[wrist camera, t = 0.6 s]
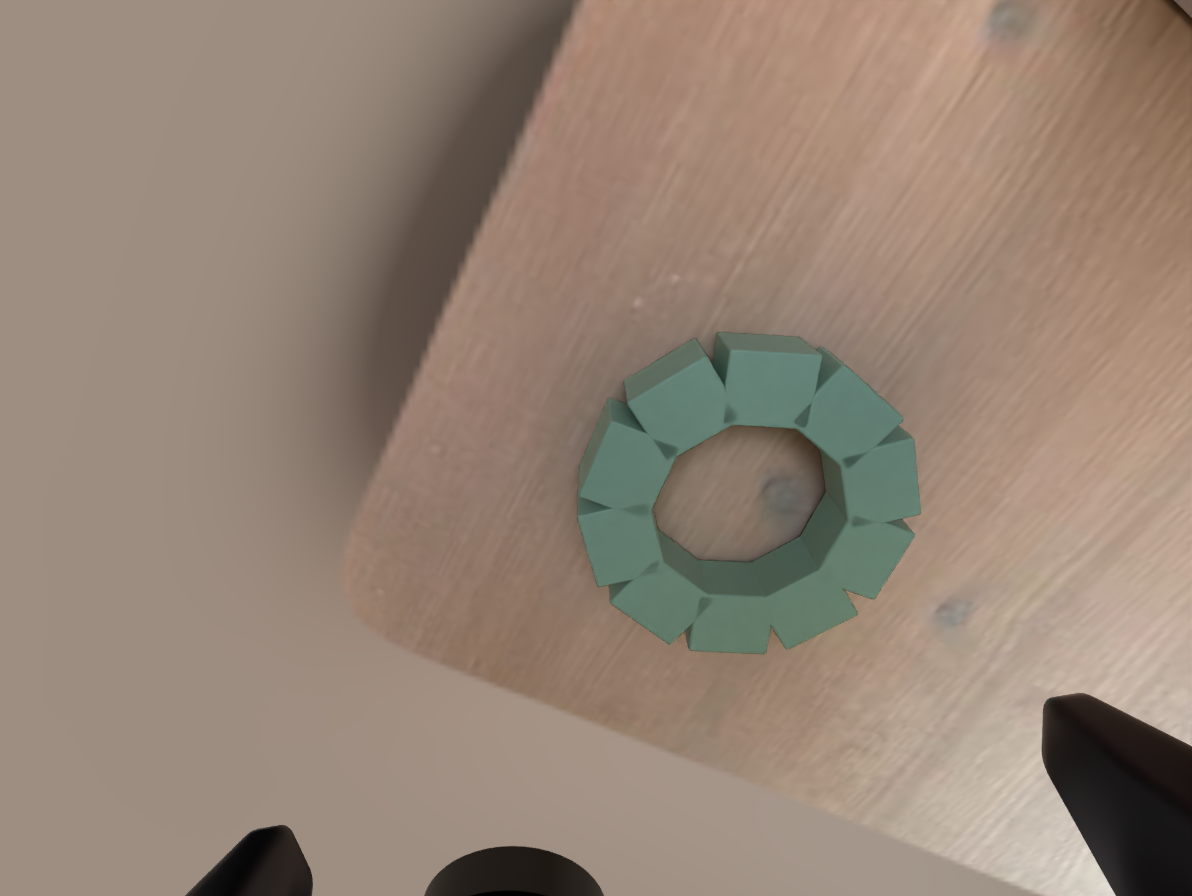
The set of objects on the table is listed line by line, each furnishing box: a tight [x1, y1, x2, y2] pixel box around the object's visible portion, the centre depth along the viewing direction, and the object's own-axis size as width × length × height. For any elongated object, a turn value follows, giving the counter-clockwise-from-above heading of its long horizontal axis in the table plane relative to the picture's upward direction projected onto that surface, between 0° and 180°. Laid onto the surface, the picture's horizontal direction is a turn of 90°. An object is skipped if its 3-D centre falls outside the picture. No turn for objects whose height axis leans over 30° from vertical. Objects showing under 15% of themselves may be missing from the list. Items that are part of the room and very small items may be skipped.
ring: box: [577, 332, 921, 654], centre depth 18 cm, size 8×8×2 cm
